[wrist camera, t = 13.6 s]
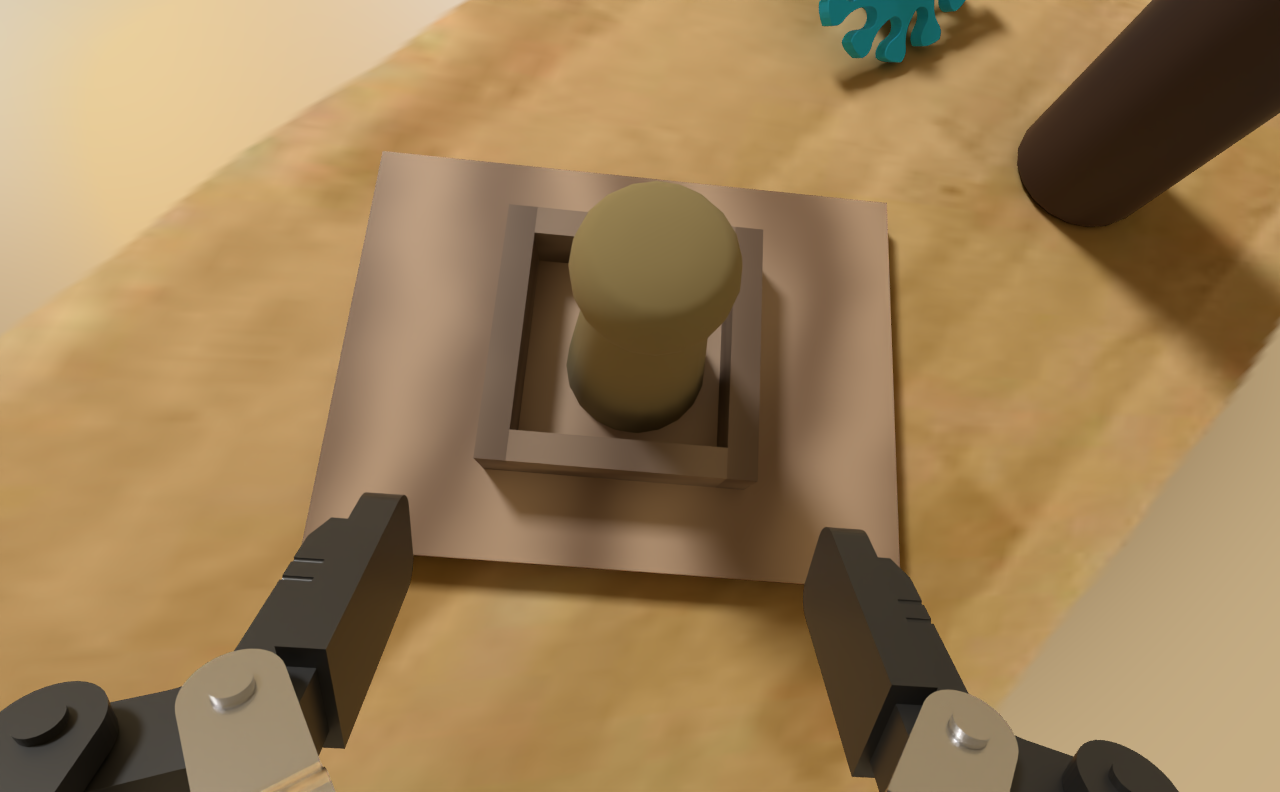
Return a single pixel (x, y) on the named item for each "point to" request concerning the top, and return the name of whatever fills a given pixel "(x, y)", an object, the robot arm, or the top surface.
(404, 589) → the robot arm
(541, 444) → the jig board
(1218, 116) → the bottle
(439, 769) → the top surface
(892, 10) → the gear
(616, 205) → the cork
